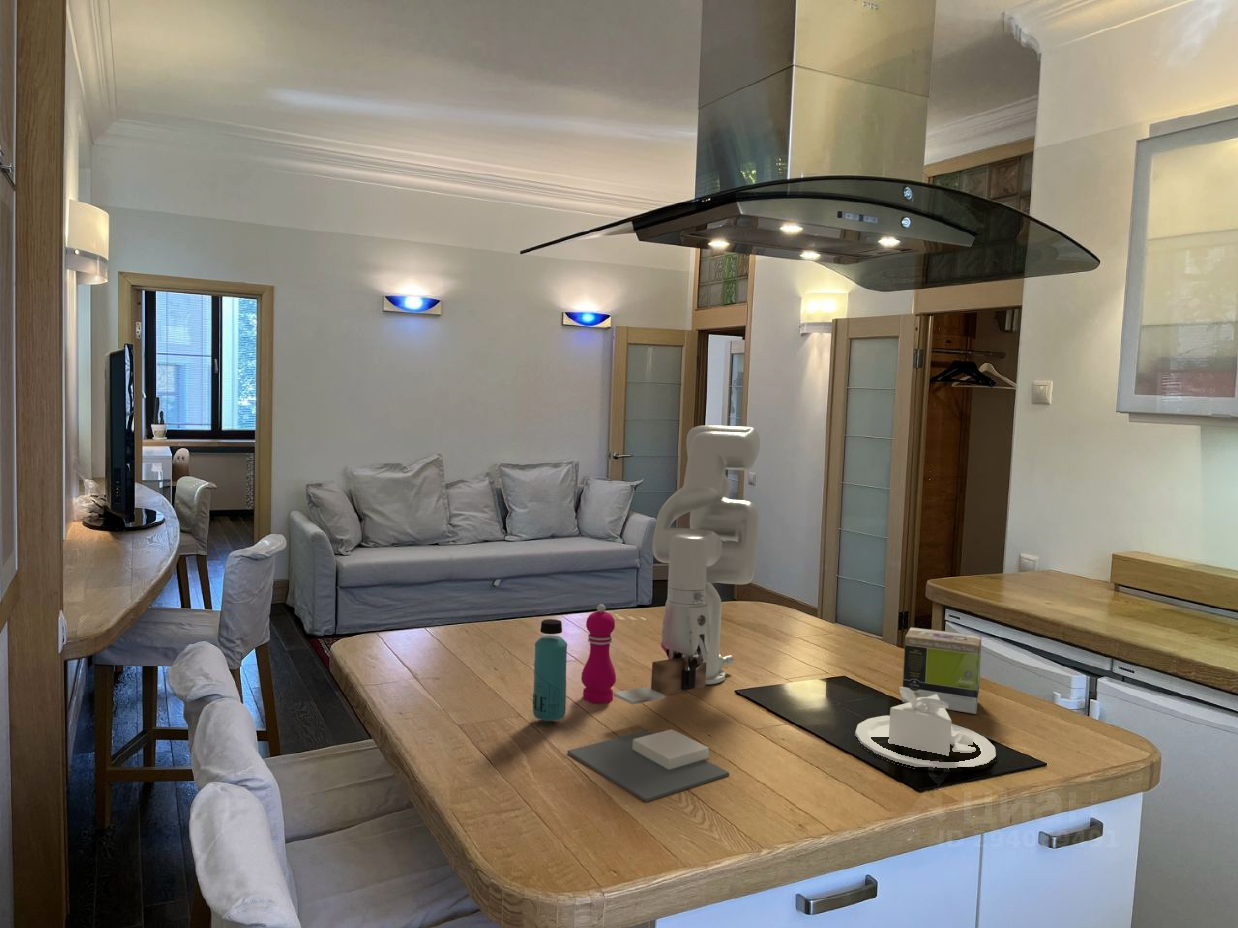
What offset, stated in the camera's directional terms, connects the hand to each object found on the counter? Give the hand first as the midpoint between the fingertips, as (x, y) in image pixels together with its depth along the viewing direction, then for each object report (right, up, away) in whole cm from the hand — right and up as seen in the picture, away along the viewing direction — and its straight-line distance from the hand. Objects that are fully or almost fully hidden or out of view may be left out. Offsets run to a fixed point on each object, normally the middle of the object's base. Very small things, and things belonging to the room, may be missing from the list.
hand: (682, 685), depth 175 cm
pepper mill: (-17, -5, +7) cm, 19 cm away
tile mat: (-8, -7, -25) cm, 27 cm away
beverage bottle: (-26, -5, -8) cm, 28 cm away
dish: (+45, -9, -12) cm, 47 cm away
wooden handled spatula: (-5, -1, -4) cm, 6 cm away
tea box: (+56, -7, +12) cm, 58 cm away
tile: (0, -5, -19) cm, 20 cm away
